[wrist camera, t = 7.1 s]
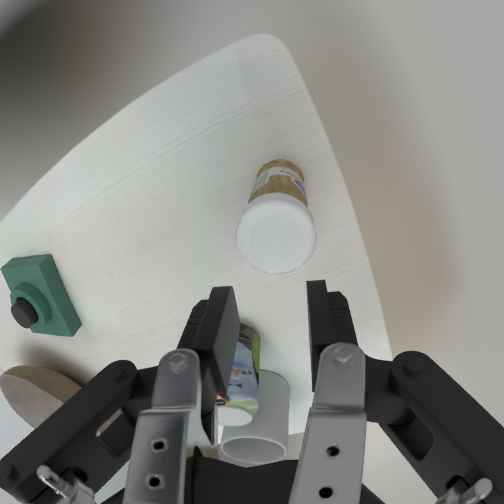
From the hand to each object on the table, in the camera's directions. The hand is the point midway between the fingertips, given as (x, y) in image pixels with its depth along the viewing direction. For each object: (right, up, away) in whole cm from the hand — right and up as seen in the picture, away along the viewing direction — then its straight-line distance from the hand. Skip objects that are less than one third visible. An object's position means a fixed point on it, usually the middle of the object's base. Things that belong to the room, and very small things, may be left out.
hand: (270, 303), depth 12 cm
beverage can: (-2, -9, +26) cm, 28 cm away
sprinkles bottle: (+2, +9, +17) cm, 19 cm away
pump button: (-33, -6, +23) cm, 40 cm away
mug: (+1, -19, +31) cm, 37 cm away
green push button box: (-32, -4, +27) cm, 42 cm away
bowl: (-38, -26, +39) cm, 60 cm away
